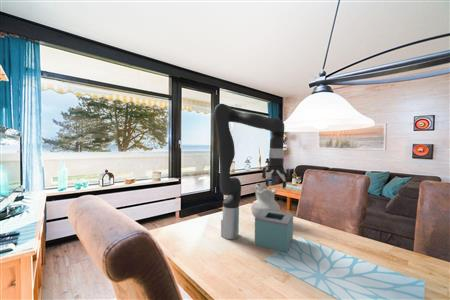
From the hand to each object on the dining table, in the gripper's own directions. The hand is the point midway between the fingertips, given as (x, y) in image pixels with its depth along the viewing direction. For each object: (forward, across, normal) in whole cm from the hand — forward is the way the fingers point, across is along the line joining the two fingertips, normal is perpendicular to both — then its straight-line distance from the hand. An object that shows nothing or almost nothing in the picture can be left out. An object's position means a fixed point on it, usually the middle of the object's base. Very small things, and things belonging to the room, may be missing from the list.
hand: (275, 187), depth 110 cm
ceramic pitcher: (+30, +14, -27) cm, 43 cm away
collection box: (+30, 0, 0) cm, 30 cm away
